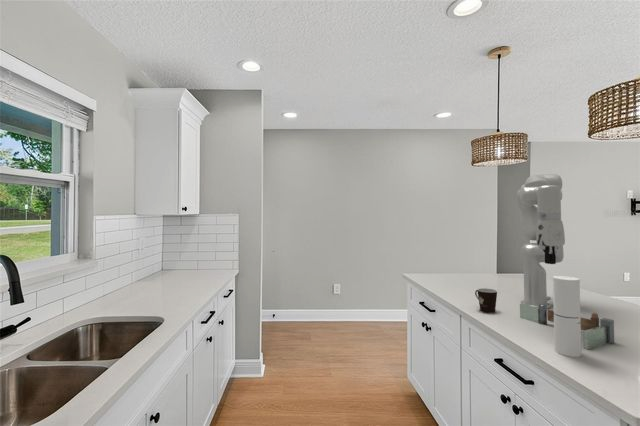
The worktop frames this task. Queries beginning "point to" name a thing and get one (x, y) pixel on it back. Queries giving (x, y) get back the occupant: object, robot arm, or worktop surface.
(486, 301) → the coffee mug
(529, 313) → the hinge post
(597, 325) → the gate
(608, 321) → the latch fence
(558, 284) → the cylindrical container
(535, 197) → the robot arm
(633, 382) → the worktop surface
